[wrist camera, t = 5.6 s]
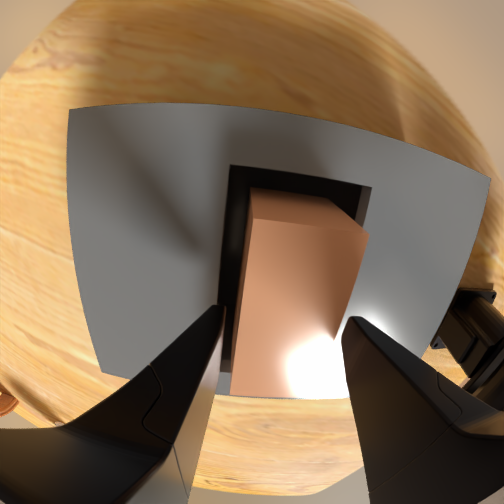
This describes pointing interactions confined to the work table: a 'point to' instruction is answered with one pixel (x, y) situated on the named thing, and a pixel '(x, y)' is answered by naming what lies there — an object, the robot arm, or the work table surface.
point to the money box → (234, 218)
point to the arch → (7, 404)
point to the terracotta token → (291, 291)
